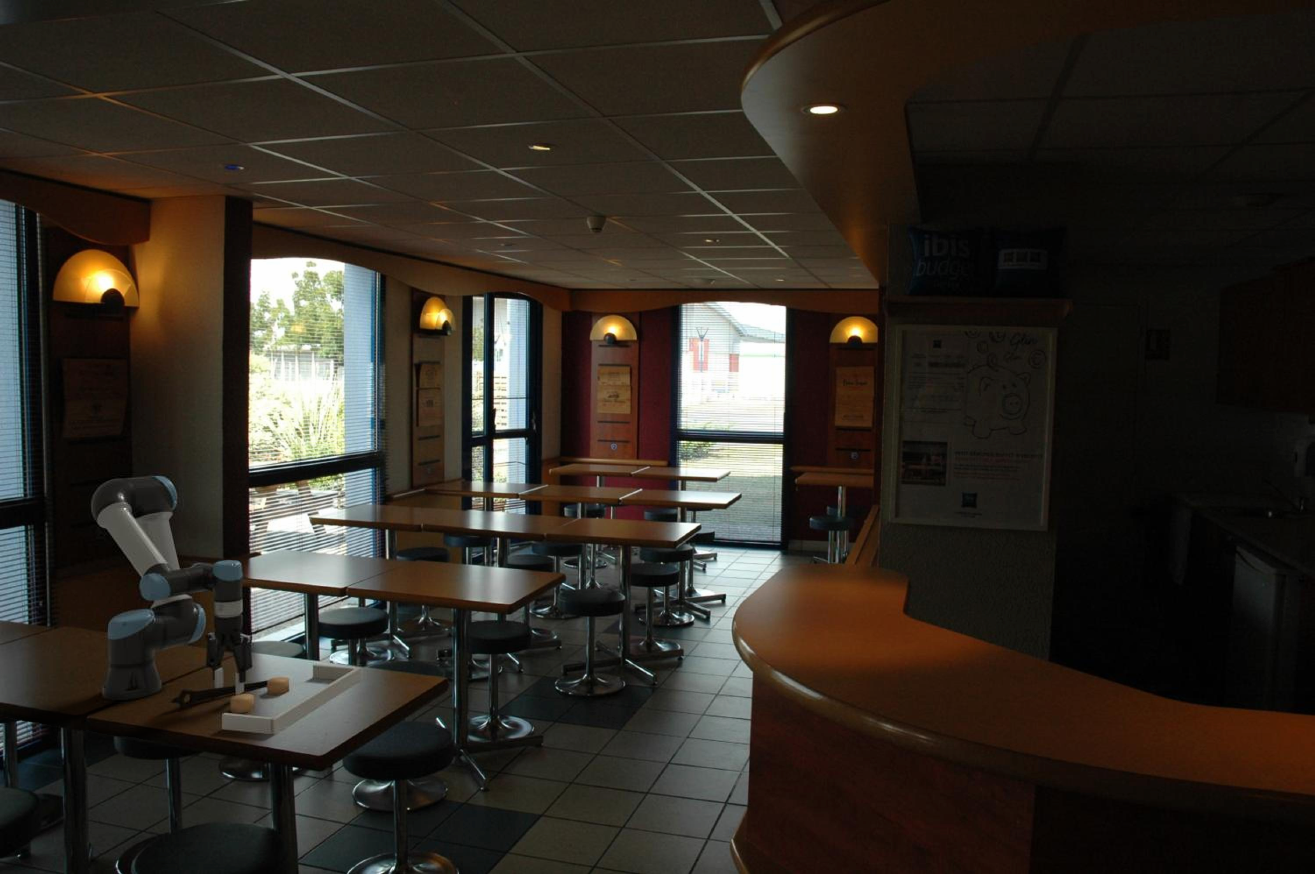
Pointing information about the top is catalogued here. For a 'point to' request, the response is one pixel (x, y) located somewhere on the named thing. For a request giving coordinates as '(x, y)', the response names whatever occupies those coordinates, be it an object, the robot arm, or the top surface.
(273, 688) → the puck
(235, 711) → the puck
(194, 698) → the black hooked stick
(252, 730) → the chip tray
